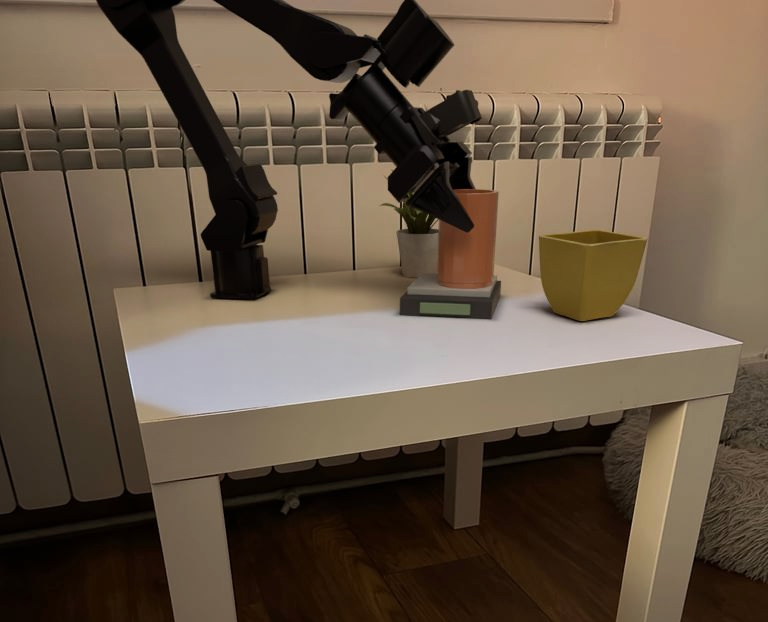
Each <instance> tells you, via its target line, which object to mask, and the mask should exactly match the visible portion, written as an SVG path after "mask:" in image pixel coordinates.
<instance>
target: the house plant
mask: <svg viewBox="0 0 768 622" xmlns="http://www.w3.org/2000/svg"><path fill="white" fill-rule="evenodd" d="M393 170H394V169H391V172H393ZM382 176H383V177H384V178H385V180H387V181H388V176H386V175H384V174H382ZM412 195H413V193H412V191H411V190H410V192H409V193H408V196H409V198H408V199H407V200H406V201H404V202H402V207H398V206H396V205H395V204H393V203H389V202H384V203H381V204H380V205H379V207H390V208H393V210H394V211H396V212H397V214H399V215H400V216H401V218H402V219H403V221H404V222H405V225H406V228H402V229H398V230H396V239H397V245H398V252H399V253H398V254H399V260H400V266H401V273H402V276H404V277H408V278H415V279H417V278H418V277H419V276H420V275H421V274H422V273H432V274H437V266H438V228H433V227H434V226H435V225H436V224H437V222H439V219H437V218H435V217H433V216H431V215H428V214H426V213H424V212H422V211H419V210H417V209H415V208H413V207H408V206H407V205H406V204H405V203H406V202H407V201H408V200H409V199H410V197H411V196H412ZM435 220H436V221H435Z"/></svg>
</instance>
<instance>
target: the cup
mask: <svg viewBox="0 0 768 622" xmlns="http://www.w3.org/2000/svg"><path fill="white" fill-rule="evenodd" d="M453 190H454V192H455V194H456V195H457V197H458V198H459V200H460V202H461V203H462V205H463V207H464V208H465V210H466V211H467V213H468V215H469V216H470V218H471V220H472V222H473V223H474V228H473V229H472V230H471V231H470V232H468V233H467V232H464V231H462V230H460V229H458V228H456V227H454V226H452V225H450V224H448V223H446V222H443V221H441V220H438V228H437V229H438V266H437V278H438V280H437V283H438V285H440V286H443V287H448V288H456V289H477V288H485V287H489V286H491V285H492V283H493V276H495V274H494V273H495V260H496V259H495V257H496V243H497V241H496V240H497V225H498V209H499V207H498V206H499V193H500V191H499V190H495V189H485V188H484V189H483V188H476V189H453Z"/></svg>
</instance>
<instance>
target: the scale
mask: <svg viewBox="0 0 768 622" xmlns="http://www.w3.org/2000/svg"><path fill="white" fill-rule="evenodd" d="M437 280H438V278H437V274H432V273H422V274H421V275H420V276H419V277H418V278H415V279H414V280H413V281H412V282H411V284H410V285H408V286H407V287H406V289H407V290H406V291H405V292H404V293H403V294H402V295H401V296H400V297H399V315H400V316H418V317H419V316H420V317H438V318H439V317H440V318H460V319H461V318H462V319H483V320H484V319H485V320H486V319H487V320H491V319H492V318H493V315H494V313H495V310H496V308H497V306H498V303H499V300H500V298H501V290H502V280H498V275H493V283H492V285H491V286H489V287H485V288H477V289H456V288H448V287H443V286H440V285H438V283H437Z"/></svg>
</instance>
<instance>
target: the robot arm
mask: <svg viewBox="0 0 768 622" xmlns="http://www.w3.org/2000/svg"><path fill="white" fill-rule="evenodd" d="M95 1H96V4H97V6H98V7H99V9H100V10H101V12H102V13H103V14H104V16H105V17H106V18H107V20H108V21H109V22H110V24H111V25H112V27H113V28H114V29H115V31H116V32H117V33H118V34H119V35H120V36H121V37H122V38H123V39H124V41H126V42H127V43H128V44H129V45H130V46H131V47H132V49H134V50H136V52H137V53H138V54H139V55H140V56H141V57H142V59H143V60H144V63H145V64H146V66H147V68H148V70H149V71H150V73H151V75H152V77H153V79H154V80H155V82H156V83H157V86H158V88H159V90H160V91H161V93H162V95H163V97H164V99H165V100H166V102H167V104H168V106H169V108H170V110H171V112H172V113H173V115H174V117H175V119H176V120H177V122H178V124H179V126H180V128H181V130H182V132H183V133H184V136H185V137H186V139H187V141H188V142H189V144H190V146H191V148H192V150H193V152H194V154H195V155H196V157H197V159H198V161H199V162H200V164H201V166H202V169H203V170H204V173H205V175H206V184H207V191H208V198H209V202H210V204H211V207H212V209H213V212H214V216H213V217H212V218H211V220H210V221H209V222H208V224H206V226H205V227H204V229H203V230H202V231H201V233H200V238H201V240H202V243H203V245H204V247H205V249H206V251H208V252H210V259H211V268H212V276H213V285H214V291H212V292H210V293H209V297H210V298H216V299H218V298H219V299H241V300H255V299H258V298H260V297H262V296H263V295H265V294H267V293H269V292H270V291H272V286H271V284H270V283H271V282H270V271H269V259H268V257H267V256H265V252H264V245H263V243H265V242H266V239H267V235H268V232H269V229H270V228H272V227H273V225H274V224H275V221H277V215H278V212H279V208H278V203H277V200H276V198H275V196H277V195H278V192H277V190H275V189H274V188H273V187H272V185H271V184H270V181H269V180H268V177H267V173H266V171H265V169H264V167H263V166H262V164H261V163H256V164H249V165H248V164H247V162H245V161H244V160H243V159H242V158H241V156H240V155H239V153H238V152H237V150H236V148H235V146H234V144H233V143H232V141H231V138H230V137H229V135H228V133H227V132H226V129H225V127H224V125H223V124H222V122H221V119H220V118H219V116H218V114H217V112H216V111H215V109H214V107H213V105H212V103H211V101H210V99H209V97H208V95H207V93H206V92H205V89H204V88H203V85H202V84H201V82H200V81H199V78H198V77H197V74H196V73H195V71H194V69H193V67H192V65H191V63H190V61H189V59H188V58H187V56H186V54H185V52H184V50H183V48H182V46H181V44H180V41H179V39H178V31H177V23H176V16H175V13H174V10H173V8H176V7H177V6H180V5H181V4H183V3H184V2H186V0H95ZM212 2H214V3H216V4H217V5H220V6H221V7H223V8H224V9H226V10H227V11H229V12H231V13H232V14H234V15H235V16H237V17H239V18H240V19H242V20H244V21H245V22H246V23H248V24H249V25H251V26H253V27H255V28H256V29H258V30H259V31H261V32H263V33H264V34H266V35H267V36H269V37H271V38H272V39H273V40H274V41H275V42H276V43H277V44H279V45H280V47H281V48H282V49H283V50H284V51H285V53H286V54H287V55H289V57H290V58H291V59H292V60H294V61H295V62H296V63H297V65H299V66H300V67H301V68H302V69H304V71H305V72H307V73H308V74H309V75H310V76H311V77H312V78H314V79H316V80H319V81H322V82H323V81H324V82H328V83H329V82H330V83H337V84H343V83H346V82H348V83H347V84H346V85H345V86H344V87H343V89H342V90H341V91H340V92H339V93H334V92H330V93H329V94H328V98H329V114H328V117H329V119H330V120H334V121H343V120H345V119H346V117H347V116H348V114H350V115H351V116H352V118H354V120H355V121H356V122H357V123H358V125H359V126H361V128H362V129H363V130H364V131H365V132H366V134H367V135H368V136H369V137H370V138H371V139H372V141H374V143H375V145H374V146H373V149H374V150H375V151H376V152H377V153H378V154H379V155H385V156H386V157H387V158H388V159H389V160H390V161H391V163H392V164H393V165H394V166H395V168H394V169H392V170H393V171H391V173H390V174H388V176H387V178H388V180H387V192H389V193H390V195H391V196H392V197H393V198H394V199H395V200H396V202H398V204H400V203H403V202H404V201H406V200H407V199H408V198H409V196H408V193H409V192H410V190H411V191H412V193H413V195H412V196H411V197H410V199H409V200H408V201H407V202H406V203H405V204H406V205H407V206H408V207H413V208H415V209H417V210H419V211H422V212H424V213H426V214H428V216H429V215H431V216H433V217H435V218H436V220H438V219H439V220H441V221H443V222H446V223H448V224H450V225H452V226H454V227H456V228H458V229H460V230H462V231H464V232H467V233H468V232H470V231H471V230H472V229H473V228H474V223H473V222H472V220H471V218H470V216H469V215H468V213H467V211H466V210H465V208H464V207H463V205H462V203H461V202H460V200H459V198H458V197H457V195H456V194H455V192H454V190H453V189H477V188H476V187H475V185H474V182H473V180H472V178H471V177H472V176H471V171H472V164H473V156H471V155H472V154H473V152H472V151H471V150H470V148H468V146H467V145H466V144H465V143H464V142H463V141H451V139H450V138H449V136H450V135H452V134H454V133H456V132H457V131H460V130H461V129H463V128H465V127H467V126H469V125H475V124H477V123H479V122H480V121H482V119H483V117H482V114H481V111H480V109H479V101H478V100H477V99H476V97H475V95H474V92H473V90H471V89H470V90H469V89H464V90H459V89H456V90H455V92H453V93H452V94H447V95H446V96H445V100H443V101H441V102H439V103H438V104H436V105H433V106H432V107H431V108H429V109H428V110H425V109H424V108H423V107H415V106H414V105H412V103H411V102H410V101H409V100H408V99H407V97H406V96H405V95H404V93H402V92H401V90H400V89H399V88H398V87H397V85H396V84H395V83H394V82H393V81H392V80H391V79H390V77H389V76H388V75H387V74H386V72H385V71H384V70H385V69H386V70H387V71H388V73H390V75H391V76H392V77H393V78H394V79H395V80H396V81H397V83H398V84H400V85H401V86H402V87H403V88H405V89H407V88H408V87H409V86H410V83H411V84H412V85H415V86H416V87H418V88H419V87H421V85H422V84H423V83H424V82H425V81H426V79H427V78H428V77H429V76H430V75H431V74H432V72H433V71H435V70H436V68H437V66H439V64H440V63H441V62H442V61H443V60H444V58H446V56H447V55H448V54H449V52H450V51H451V50H452V49H453V48H454V47H455V43H454V41H453V40H452V39H451V37H450V36H449V34H447V32H446V30H445V29H444V28H443V27H442V26H441V25H440V24H439V22H438V21H437V20H435V19H434V18H432V17H431V16H430V15H429V14H428V13H427V11H425V9H424V8H423V7H421V6H420V4H419V3H418V1H416V0H403V1H402V2H401V4H400V5H399V8H398V9H397V11H396V13H395V14H394V15H393V17H392V18H391V20H390V21H389V22H388V24H387V25H385V27H384V29H383V30H382V32H381V33H380V34H379V35H378V36H377V38H376V37H373V36H371V35H369V34H364V35H363V36H362V35H357V34H356V33H355V31H354V30H353V29H352V28H349V27H347V26H345V25H343V24H340V23H338V22H335V21H332V20H329V19H326V18H324V17H321V16H319V15H316V14H314V13H311V12H309V11H305V10H304V9H303V10H302V9H300V8H297V7H294V6H293V5H291V4H290V3H288V2H286V1H285V0H212ZM367 67H369V68H367ZM363 68H367V70H366V71H364V73H363V74H362V75H360V74H358V72H359V71H360V69H363ZM439 220H438V221H439Z"/></svg>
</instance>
